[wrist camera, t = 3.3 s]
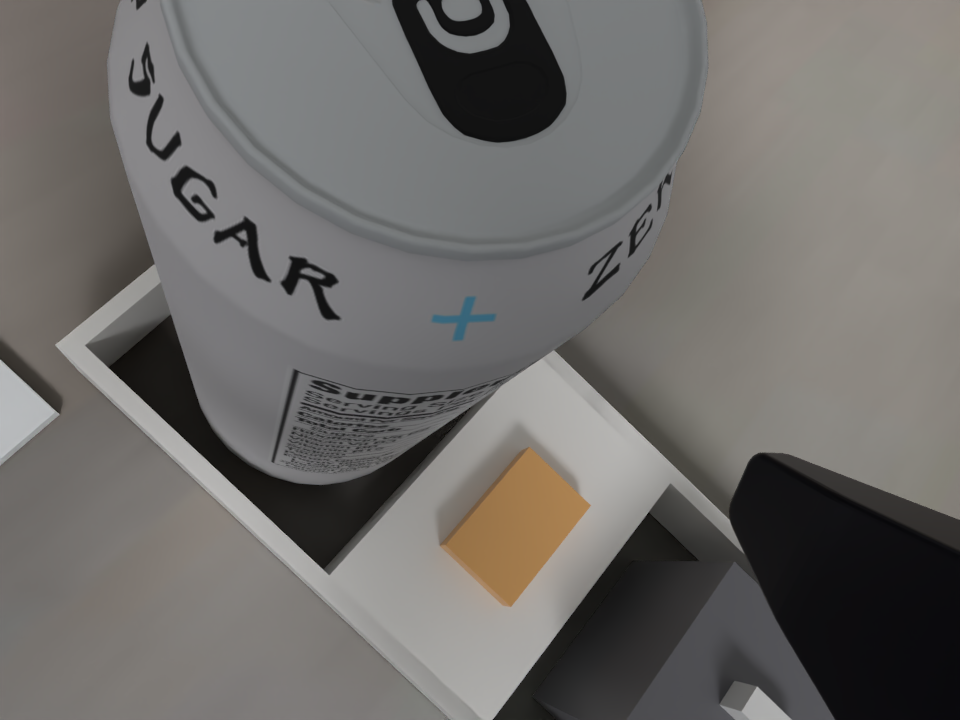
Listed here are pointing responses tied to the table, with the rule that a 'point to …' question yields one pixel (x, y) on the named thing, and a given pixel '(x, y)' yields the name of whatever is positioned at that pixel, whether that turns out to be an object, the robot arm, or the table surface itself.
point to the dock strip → (460, 518)
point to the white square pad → (19, 413)
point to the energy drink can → (392, 198)
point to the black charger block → (681, 652)
